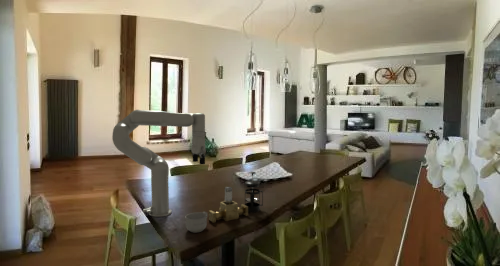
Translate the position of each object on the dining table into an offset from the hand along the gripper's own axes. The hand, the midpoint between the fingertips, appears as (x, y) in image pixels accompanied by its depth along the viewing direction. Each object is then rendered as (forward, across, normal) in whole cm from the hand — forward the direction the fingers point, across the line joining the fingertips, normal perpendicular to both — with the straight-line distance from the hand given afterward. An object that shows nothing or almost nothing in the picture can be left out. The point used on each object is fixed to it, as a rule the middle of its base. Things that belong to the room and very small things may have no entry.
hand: (198, 162), depth 198 cm
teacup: (+29, +29, -14) cm, 43 cm away
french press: (+28, +18, +27) cm, 43 cm away
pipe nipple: (+23, +22, +8) cm, 33 cm away
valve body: (+28, +22, +8) cm, 37 cm away
